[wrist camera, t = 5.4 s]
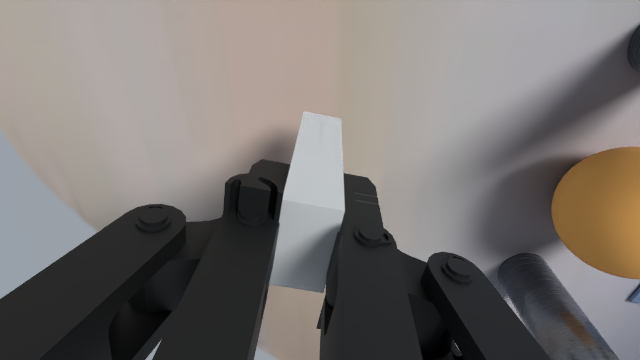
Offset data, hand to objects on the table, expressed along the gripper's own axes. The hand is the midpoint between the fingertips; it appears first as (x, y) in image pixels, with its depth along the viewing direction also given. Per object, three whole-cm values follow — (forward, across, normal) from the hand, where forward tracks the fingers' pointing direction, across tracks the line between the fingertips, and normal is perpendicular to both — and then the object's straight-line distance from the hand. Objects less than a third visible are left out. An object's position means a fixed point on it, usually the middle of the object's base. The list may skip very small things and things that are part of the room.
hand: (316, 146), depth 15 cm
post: (+2, +13, -6) cm, 15 cm away
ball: (0, +14, 0) cm, 14 cm away
